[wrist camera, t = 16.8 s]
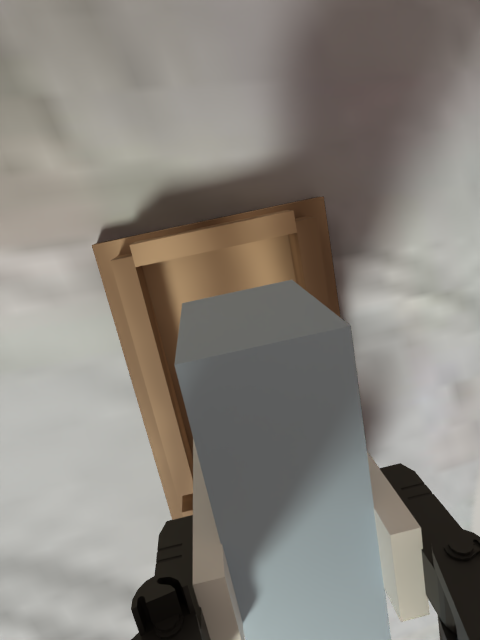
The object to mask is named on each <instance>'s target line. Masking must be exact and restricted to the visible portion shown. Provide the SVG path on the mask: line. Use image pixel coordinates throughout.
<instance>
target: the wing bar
mask: <svg viewBox="0 0 480 640" xmlns="http://www.w3.org/2000/svg"><path fill="white" fill-rule="evenodd" d="M174 365H175V369H176V373H177V377H178V381H179V385H180V389H181V393H182V396H183V400H184V404H185V408H186V412H187V416H188V420H189V423H190V427H191V431H192V435H193V439H194V443H195V447H196V450H197V454H198V458H199V462H200V466H201V470H202V474H203V477H204V481H205V485H206V489H207V493H208V497H209V501H210V504H211V508H212V512H213V516H214V520H215V524H216V528H217V532H218V535H219V539H220V543H221V544H222V546H223V549H224V553H225V557H226V561H227V565H228V569H229V572H230V576H231V580H232V584H233V588H234V592H235V595H236V599H237V603H238V607H239V611H240V615H241V618H242V622H243V629H244V636H245V640H391V635H390V627H389V619H388V612H387V604H386V596H385V589H384V584H383V576H382V569H381V561H380V554H379V546H378V538H377V531H376V523H375V516H374V508H373V507H374V503H373V495H372V487H371V480H370V472H369V464H368V456H367V449H366V441H365V433H364V425H363V418H362V410H361V402H360V394H359V387H358V379H357V371H356V363H355V356H354V348H353V340H352V332H351V326H350V325H349V324H348V323H346V322H345V321H344V320H343V319H341V318H340V317H339V316H338V315H336V314H335V313H334V312H332V311H331V310H330V309H329V308H327V307H326V306H325V305H324V304H322V303H321V302H320V301H319V300H317V299H316V298H315V297H313V296H312V295H311V294H310V293H308V292H307V291H306V290H305V289H303V288H302V287H301V286H299V285H298V284H297V283H296V282H294V281H293V280H288V281H283V282H278V283H274V284H269V285H264V286H260V287H255V288H251V289H246V290H241V291H237V292H232V293H227V294H223V295H218V296H213V297H209V298H204V299H200V300H195V301H190V302H186V303H182V309H181V317H180V325H179V333H178V341H177V348H176V356H175V364H174Z"/></svg>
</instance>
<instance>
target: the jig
mask: <svg viewBox="0 0 480 640" xmlns="http://www.w3.org/2000/svg"><path fill="white" fill-rule="evenodd" d="M92 248H93V251H94V254H95V258H96V261H97V265H98V268H99V271H100V275H101V278H102V282H103V285H104V288H105V292H106V295H107V299H108V302H109V305H110V309H111V312H112V316H113V319H114V322H115V326H116V329H117V333H118V336H119V340H120V343H121V346H122V350H123V353H124V357H125V360H126V363H127V367H128V370H129V374H130V377H131V380H132V384H133V387H134V391H135V394H136V397H137V401H138V404H139V408H140V411H141V414H142V418H143V421H144V425H145V428H146V431H147V435H148V438H149V442H150V445H151V448H152V452H153V455H154V459H155V462H156V466H157V469H158V472H159V476H160V479H161V483H162V486H163V489H164V493H165V496H166V500H167V503H168V506H169V510H170V513H171V517H172V520H174V519H178V518H182V517H186V516H190V515H193V435H192V431H191V427H190V423H189V420H188V416H187V412H186V408H185V404H184V400H183V396H182V393H181V389H180V385H179V381H178V377H177V373H176V369H175V365H174V364H175V356H176V348H177V341H178V333H179V325H180V317H181V309H182V303H186V302H190V301H195V300H200V299H204V298H209V297H213V296H218V295H223V294H227V293H232V292H237V291H241V290H246V289H251V288H255V287H260V286H264V285H269V284H274V283H278V282H283V281H288V280H293V281H294V282H296V283H297V284H298V285H299V286H301V287H302V288H303V289H305V290H306V291H307V292H308V293H310V294H311V295H312V296H313V297H315V298H316V299H317V300H319V301H320V302H321V303H322V304H324V305H325V306H326V307H327V308H329V309H330V310H331V311H332V312H334V313H335V314H336V315H338V316H339V317H340V310H339V303H338V296H337V289H336V282H335V274H334V267H333V260H332V253H331V246H330V239H329V231H328V224H327V217H326V210H325V203H324V197H316V198H311V199H306V200H301V201H297V202H292V203H287V204H282V205H278V206H273V207H268V208H263V209H259V210H254V211H249V212H244V213H239V214H235V215H230V216H225V217H220V218H216V219H211V220H206V221H201V222H197V223H192V224H187V225H182V226H178V227H173V228H168V229H163V230H158V231H154V232H149V233H144V234H139V235H135V236H130V237H125V238H120V239H116V240H111V241H106V242H101V243H96V244H94V245H92ZM244 637H245V636H244Z"/></svg>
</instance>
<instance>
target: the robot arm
mask: <svg viewBox="0 0 480 640" xmlns="http://www.w3.org/2000/svg"><path fill="white" fill-rule="evenodd" d="M367 456H368V464H369V472H370V480H371V487H372V495H373V503H374V507H373V508H374V516H375V523H376V531H377V538H378V546H379V554H380V561H381V569H382V576H383V584H384V589H385V591H386V593H387V595H388V597H389V599H390V601H391V603H392V605H393V607H394V609H395V611H396V613H397V615H398V617H399V619H400V621H401V622H403V621H406V620H410V619H414V618H418V617H422V616H426V615H429V604H428V599H429V601H430V602H431V604H432V606H433V607H434V609H435V611H436V612H437V614H438V622H439V633H440V640H480V537H479V536H478V535H476V534H474V533H473V532H469V531H466V530H463V529H462V528H461V527H460V526H459V524H458V523H457V522H456V521H455V520H454V518H453V517H452V516H451V515H450V514H449V512H448V511H447V510H446V509H445V507H444V506H443V505H442V504H441V503H440V501H439V500H438V499H437V498H436V497H435V495H434V494H432V492H431V491H430V489H429V488H428V487H427V486H426V485H425V484H424V482H423V481H422V480H421V479H420V477H419V476H418V475H417V474H416V472H415V471H413V470H411V469H409V468H408V467H406V466H404V465H402V464H401V463H400V464H396V465H392V466H388V467H383V468H379V467H378V466H377V464H376V463H375V462H374V460H373V459H372V457H371V456H370V455H369V453H368V452H367ZM156 562H157V564H156V568H155V576H154V577H152V578H150V579H149V580H147V581H146V582H145V583H144V584H143V585H142V586H141V587H140V588H139V589H138V590H137V592H136V594H135V596H134V598H133V600H132V607H131V610H132V613H133V616H134V619H135V622H136V625H137V627H138V630H139V633H138V634H137V635H136V636H135V637H134V638H133V639H131V640H245V638H244V629H243V622H242V618H241V615H240V611H239V607H238V603H237V599H236V595H235V592H234V588H233V584H232V580H231V576H230V572H229V569H228V565H227V561H226V557H225V553H224V549H223V546H222V544H221V543H220V539H219V535H218V532H217V528H216V524H215V520H214V516H213V512H212V508H211V504H210V501H209V497H208V493H207V489H206V485H205V481H204V477H203V474H202V470H201V466H200V462H199V458H198V454H197V450H196V447H195V443H194V439H193V515H190V516H186V517H182V518H178V519H174V520H170V521H167V522H166V524H165V525H164V527H163V529H162V531H161V533H160V534H159V540H158V552H157V559H156Z"/></svg>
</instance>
